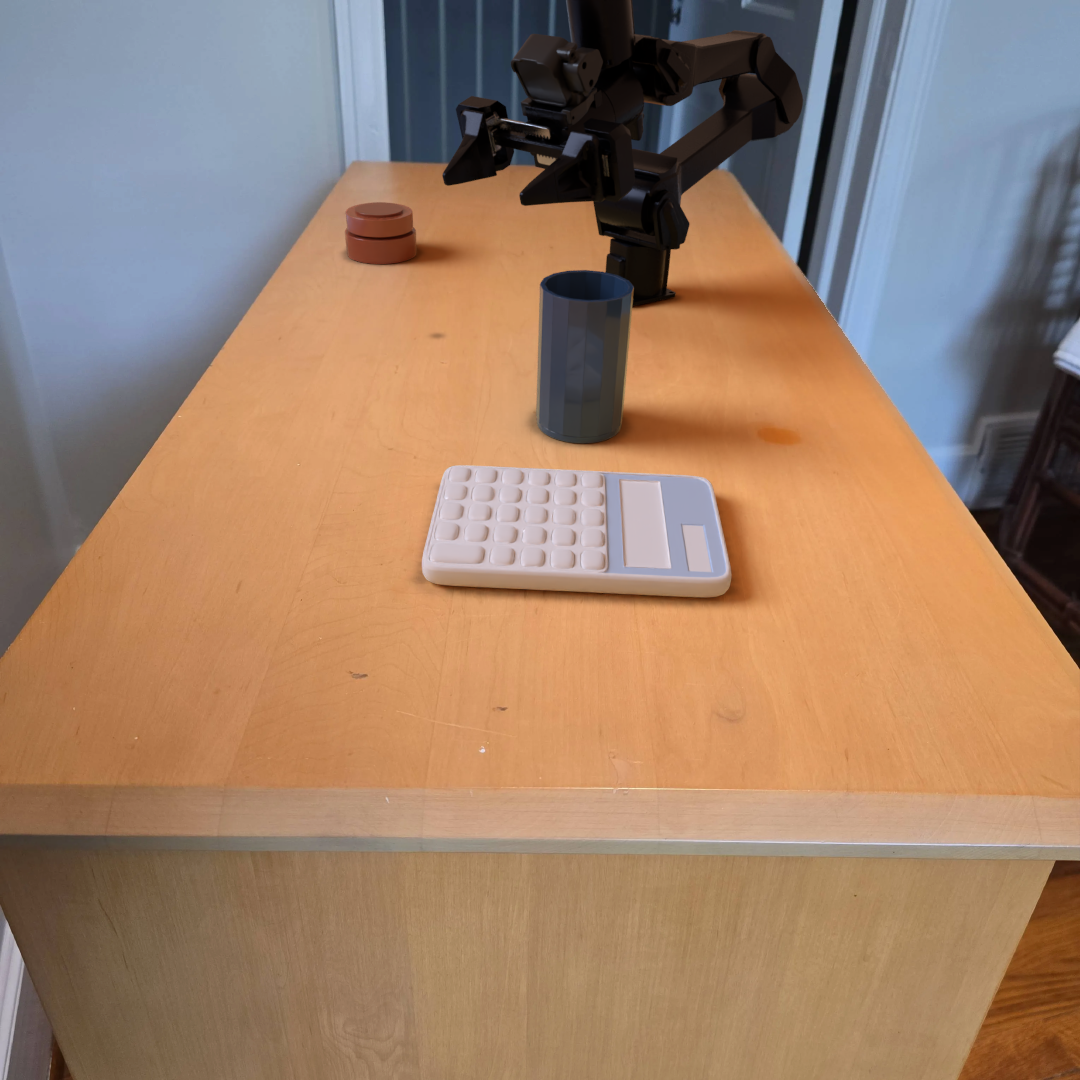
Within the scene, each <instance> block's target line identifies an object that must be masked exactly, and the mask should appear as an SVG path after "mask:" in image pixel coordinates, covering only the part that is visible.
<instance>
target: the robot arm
mask: <svg viewBox="0 0 1080 1080" xmlns="http://www.w3.org/2000/svg"><path fill="white" fill-rule="evenodd" d="M565 3H566V11H567V19H568V26H569V36H570V41H568V39H566V38H564V37H561V36H557V35H556V36H555V35H554V36H553V35H546V34H541V33H531V34H530V35H529V36H528V38H527V39H526V40H525V42H524V43H523V44H522V46H521V47H520V49H519V50H518V51H517V52H516V54H515V55H514V56H513V58H512V59H511V60H510V68H511V71H512V72H513V73H515V74H516V76H517V78H518V80H519V83H520V85H521V87H522V89H523V91H524V93H525V95H526V96H527V97H526V98H524V99H523V100H521V101H520V107H521V112H522V116H524V117H526V119H527V121H521V120H515V119H510V118H509V117H508V110H507V105H504V104H503V103H502V102H501V101H499V100H495V99H490V98H485V97H480V96H475V95H470V96H469V97H468V98H466V99H464V100H463V101H461V102H459V103H458V104H457V106H456V108H455V113H456V117H457V122H458V126H459V130H460V135H461V139H462V140H461V142H460V144H459V147H458V148H457V149H456V151H455V152H454V154H453V156H452V158H451V159H450V160H449V162H448V164H447V165H446V167H445V169H444V171H443V172H442V180H443V184H444V185H445V186H446V187H447V186H448V187H450V186H455V185H461V184H465V183H471V182H474V181H475V182H476V181H479V180H484V179H489V178H494V177H496V176H498V172H501V171H504V170H505V169H507V168H508V167H510V166H511V164H512V160H513V157H514V154H515V150H517V151H522V152H526V153H529V154H530V155H531V156H533V160H534V165H535V168H539V169H543V170H542V171H541V172H540V173H539V174H538V175H536V176H535V177H534V178H533V179H531V181H530V182H529V183H527V184H526V186H525V187H524V188H523V189H522V190H521V191H520V192H519V201H520V202H519V203H520V205H521V206H524V207H530V206H540V205H553V204H567V203H585V202H593V203H592V204H593V208H594V213H595V220H596V226H597V231H598V235H599V236H602V237H607V238H608V237H609V238H610V239H609V240H610V241H609V253H607V254H606V259H605V260H606V261H605V272H606V273H610V274H614V275H618V276H620V277H622V278H625V279H627V280H629V281H630V282H631V284H632V285H633V286H634V293H633V305H632V307H635V306H640V305H641V306H642V305H645V304H650V303H654V302H655V303H656V302H660V301H664V300H668V299H673V298H675V297H676V294H677V293H676V291H674V290H671V289H670V288H668V282H669V272H670V271H669V270H670V262H671V253H672V250H680V248H681V245H683V244H685V242H686V240H687V236H688V231H689V228H690V221H689V219H688V218H687V216H686V214H685V212H684V210H683V208H682V207H681V202H682V196H683V194H684V193H686V192H687V191H688V190H690V189H691V188H692V187H694V186H695V185H696V184H697V183H699V182H700V181H701V180H703V179H704V178H705V177H706V176H707V175H709V174H711V173H712V172H713V171H714V170H715V169H717V168H718V167H719V166H720V165H722V164H723V163H724V162H725V161H727V160H728V159H729V158H730V157H732V156H733V155H735V154H736V153H737V152H738V151H739V150H741V149H742V148H743V147H744V146H746V145H747V144H749V143H751V142H756V141H763V140H764V141H765V140H769V139H774V138H777V137H779V136H781V135H783V134H785V133H787V132H788V131H789V130H791V129H792V127H793V126H794V124H796V123H797V121H798V120H799V118H800V116H801V113H802V110H803V106H804V105H803V104H804V97H803V92H802V89H801V86H800V83H799V79H798V76H797V73H796V71H795V70H794V69H793V68H792V67H791V66H790V65H789V64H788V63H787V62H786V61H785V60H784V58H782V56H781V55H780V54H779V53H778V52H777V50H776V48H775V45H774V42H773V40H772V38H771V37H770V36H767V34H766V33H763V32H756V31H755V32H754V31H746V30H736V29H733V30H732V31H728V32H726V33H724V34H717V35H712V36H707V37H706V36H705V37H701V38H694V39H689V40H684V41H681V40H680V41H679V40H671V39H663V38H660V37H653V35H646V34H637V33H636V30H635V29H636V28H635V18H634V17H635V16H634V6H633V0H565ZM720 80H721V81H720ZM715 81H720V84H719V86H718V92H719V94H720V97H721V99H722V102H723V104H722V107H721V108H720V109H719V110H717V111H715V112H714V113H713V114H711V115H710V116H709V117H707V118H706V119H705V120H703V121H702V122H701V123H699V124H698V125H697V126H695V127H694V128H692V129H691V130H690V131H689V132H687V133H686V134H685V135H683V136H681V137H680V138H679V139H677V140H676V141H675V142H674V143H672V144H670V145H669V146H668V147H667V148H665V149H664V150H662V152H660V153H657V152H653V151H648V150H643V149H638V148H633V142H632V141H638V142H639V141H641V140H642V139H643V133H644V119H645V113H644V110H645V103H647V104H653V105H659V106H665V107H672V106H675V105H676V104H678V103H680V102H681V101H684V100H685V99H687V98H689V97H690V96H692V95H693V92H694V91H693V90H694V88H695V87H696V86H698V85H702V84H705V83H711V82H715Z"/></svg>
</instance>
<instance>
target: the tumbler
mask: <svg viewBox="0 0 1080 1080" xmlns="http://www.w3.org/2000/svg"><path fill="white" fill-rule="evenodd" d="M633 293H634V286H633V285H632V284H631V282H630V281H629V280H627V279H625V278H622V277H620V276H618V275H614V274H610V273H606V271H601V270H600V271H598V270H588V269H581V270H579V269H576V270H575V269H574V270H573V269H572V270H565V271H559V272H553V273H551V274H549V275H547V276H545V277H543V278H542V280H541V281H540V283H539V298H538V300H539V301H538V336H537V339H538V340H537V369H536V370H537V371H536V374H537V375H536V405H535V407H536V409H535V416H536V425H537V427H538V429H539V430H540V431H541V432H542V433H543V434H545V435H546V436H547V437H550V438H552V439H553V440H557V441H559V442H565V443H571V444H594V443H595V444H596V443H600V442H604V441H607V440H609V439H612V438H614V437H615V436H617V435H618V433H620V431H621V429H622V423H623V418H624V407H625V396H626V383H627V372H628V363H629V361H628V360H629V351H630V337H631V328H632V327H631V326H632V316H633V315H632V314H633V306H632V305H633Z"/></svg>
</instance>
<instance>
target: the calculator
mask: <svg viewBox="0 0 1080 1080" xmlns="http://www.w3.org/2000/svg"><path fill="white" fill-rule="evenodd" d="M730 562H731V561H730V558H729V552H728V548H727V543H726V539H725V535H724V529H723V525H722V521H721V516H720V512H719V507H718V503H717V498H716V493H715V489H714V487H713V484H712V483H711V481H710V480H709V479H707V478H706V477H703V476H698V475H697V476H696V475H689V474H688V475H687V474H669V473H650V472H649V473H648V472H647V473H646V472H627V471H625V472H624V471H601V470H582V469H557V468H540V467H539V468H537V467H517V466H516V467H514V466H495V465H493V466H491V465H473V464H472V465H471V464H470V465H469V464H468V465H466V464H464V465H463V464H460V465H459V464H458V465H451V466H449V467H447V468H446V469H445V470H444V472H443V474H442V477H441V480H440V484H439V488H438V491H437V496H436V500H435V503H434V508H433V512H432V515H431V519H430V524H429V528H428V532H427V536H426V540H425V544H424V548H423V553H422V557H421V572H422V575H423V576H424V578H425V580H426V581H427V582H429V583H432V584H435V585H440V586H452V587H469V588H470V587H471V588H474V587H475V588H491V589H492V588H494V589H516V590H537V591H556V592H575V593H576V592H578V593H598V594H602V593H603V594H617V595H618V594H619V595H641V596H660V597H661V596H663V597H681V598H682V597H683V598H717V597H720V596H722V595H725V594H726V592H727V591H728V590H729V589H730V586H731V582H732V566H731V563H730Z"/></svg>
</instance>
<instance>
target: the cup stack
mask: <svg viewBox="0 0 1080 1080" xmlns="http://www.w3.org/2000/svg"><path fill="white" fill-rule="evenodd" d="M413 214H414V213H413V209H412V208H411V207H410V206H407V205H405V204H400V203H394V202H381V201H378V202H377V201H374V202H366V203H359V204H356V205H355V204H354V205H352V206H349V207H348V208H347V209H346V210H345V221H346V228H345V230H344V239H345V249H346V251H345V252H346V255H347V257H348V258H349V259H351V260H353V261H355V262H359V263H363V264H370V265H371V264H372V265H390V264H397V263H402V262H406V261H409V260H412V259H413V258H414V257H416V256H417V254H418V249H417V248H418V247H417V246H418V245H417V229H416V227H414V215H413Z"/></svg>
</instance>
